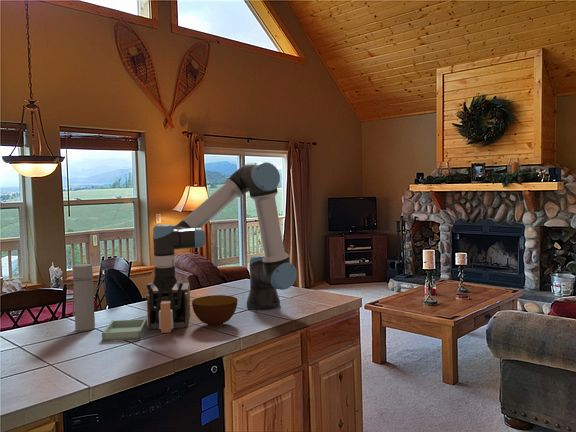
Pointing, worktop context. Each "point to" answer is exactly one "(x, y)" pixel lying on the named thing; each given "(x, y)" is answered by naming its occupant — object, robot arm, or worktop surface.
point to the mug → (167, 298)
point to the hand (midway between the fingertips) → (166, 327)
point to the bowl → (214, 309)
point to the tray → (124, 330)
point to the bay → (184, 296)
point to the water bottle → (83, 297)
